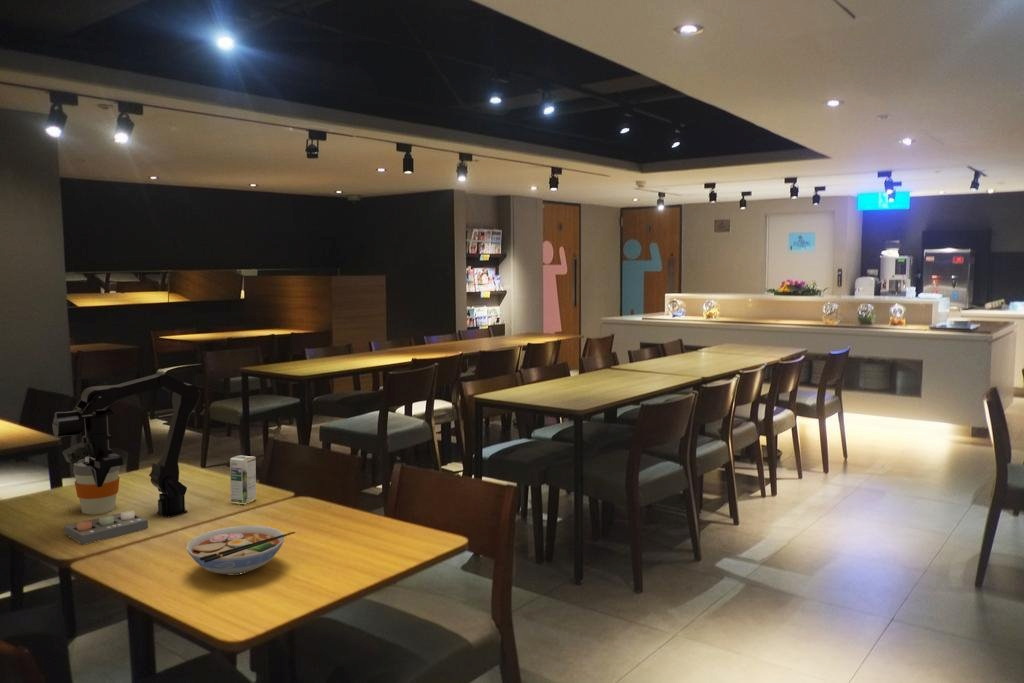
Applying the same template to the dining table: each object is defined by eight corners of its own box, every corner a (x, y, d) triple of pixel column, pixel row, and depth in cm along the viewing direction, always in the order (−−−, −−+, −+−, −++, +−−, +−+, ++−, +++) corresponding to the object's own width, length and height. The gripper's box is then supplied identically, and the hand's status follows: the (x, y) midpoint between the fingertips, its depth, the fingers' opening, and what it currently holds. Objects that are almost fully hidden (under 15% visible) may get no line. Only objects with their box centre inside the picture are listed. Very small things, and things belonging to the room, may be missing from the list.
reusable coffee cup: (130, 504, 240) (128, 457, 239) (105, 517, 228) (103, 467, 226) (92, 502, 242) (90, 455, 240) (65, 515, 229) (63, 465, 228)
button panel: (128, 519, 226) (128, 510, 226) (147, 528, 218) (147, 519, 218) (65, 534, 213) (64, 525, 212) (83, 544, 205) (82, 535, 205)
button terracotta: (89, 530, 214) (88, 519, 213) (94, 533, 211) (94, 522, 211) (75, 533, 211) (74, 522, 210) (80, 536, 208) (80, 525, 208)
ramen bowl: (256, 545, 206) (255, 515, 205) (307, 566, 192) (307, 534, 191) (164, 573, 187) (163, 540, 186) (214, 599, 173) (213, 563, 172)
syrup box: (230, 504, 242) (228, 458, 240) (241, 498, 247) (240, 454, 246) (245, 505, 240) (244, 460, 239) (257, 500, 246) (256, 455, 244)
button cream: (131, 520, 222) (131, 509, 222) (137, 522, 220) (136, 512, 220) (118, 523, 220) (118, 512, 219) (124, 525, 217) (124, 515, 217)
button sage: (110, 525, 218) (110, 514, 218) (116, 527, 216) (115, 517, 215) (97, 528, 215) (96, 517, 215) (102, 531, 213) (102, 520, 213)
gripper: (52, 432, 215) (54, 486, 217) (79, 442, 203) (82, 499, 205) (94, 426, 224) (96, 478, 225) (123, 435, 212) (125, 490, 213)
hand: (99, 486), depth 217 cm, fingers closed
